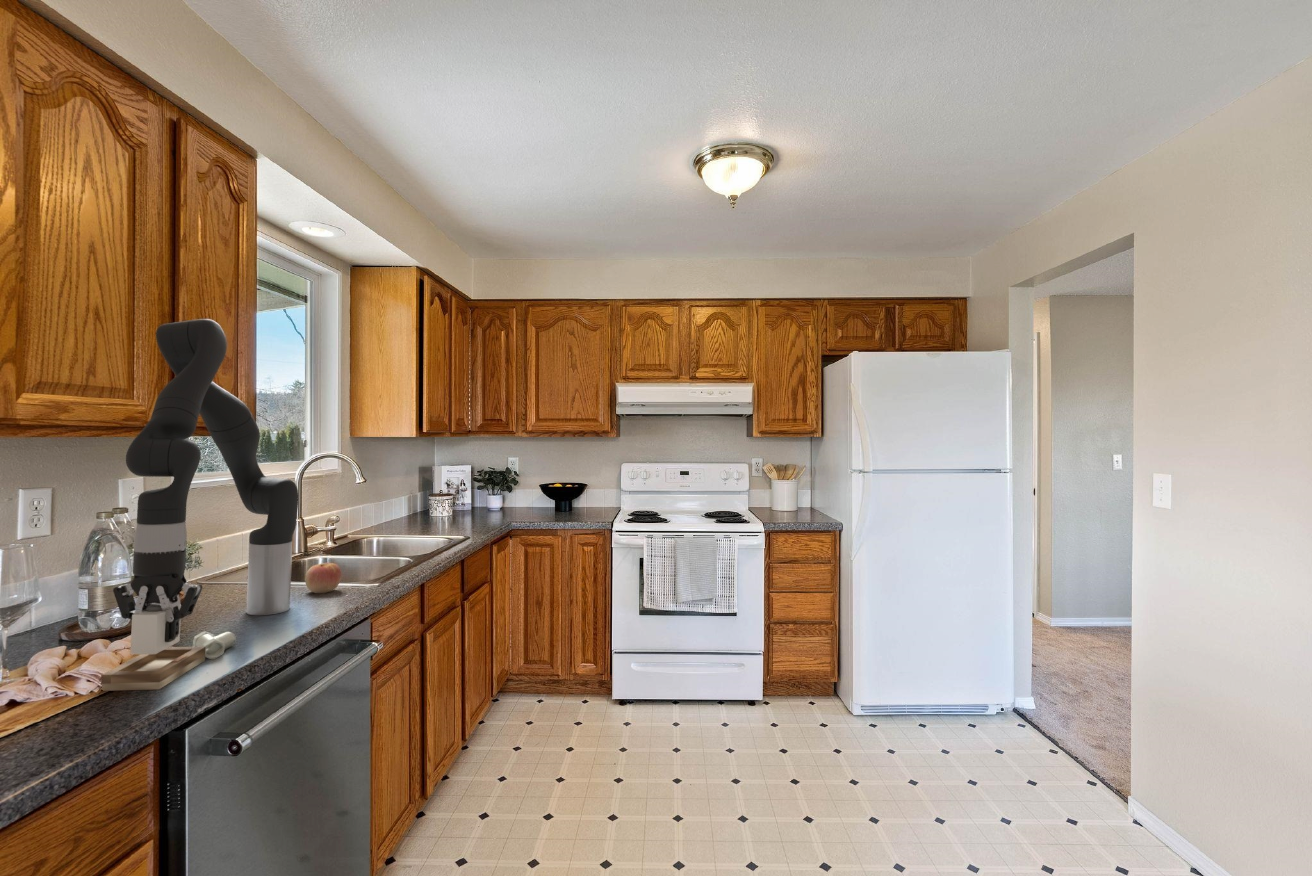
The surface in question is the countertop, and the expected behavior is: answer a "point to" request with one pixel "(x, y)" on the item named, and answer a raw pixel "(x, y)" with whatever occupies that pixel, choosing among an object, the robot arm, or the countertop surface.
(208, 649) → the pipe fitting
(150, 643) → the white rectangular block
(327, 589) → the apple
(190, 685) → the countertop surface
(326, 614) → the countertop surface
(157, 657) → the shallow brown rectangular tray
